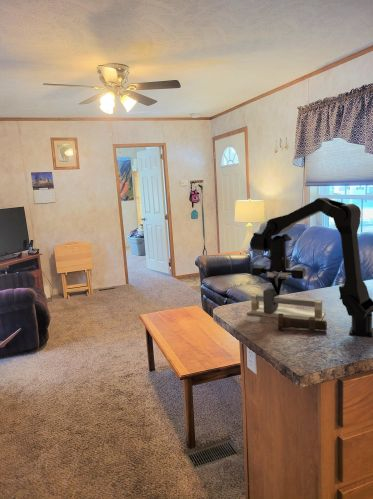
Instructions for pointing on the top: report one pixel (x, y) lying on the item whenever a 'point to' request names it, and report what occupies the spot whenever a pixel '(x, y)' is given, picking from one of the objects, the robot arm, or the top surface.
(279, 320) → the bolt
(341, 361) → the top surface
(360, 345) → the top surface
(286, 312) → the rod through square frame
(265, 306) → the grey square collar
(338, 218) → the robot arm
